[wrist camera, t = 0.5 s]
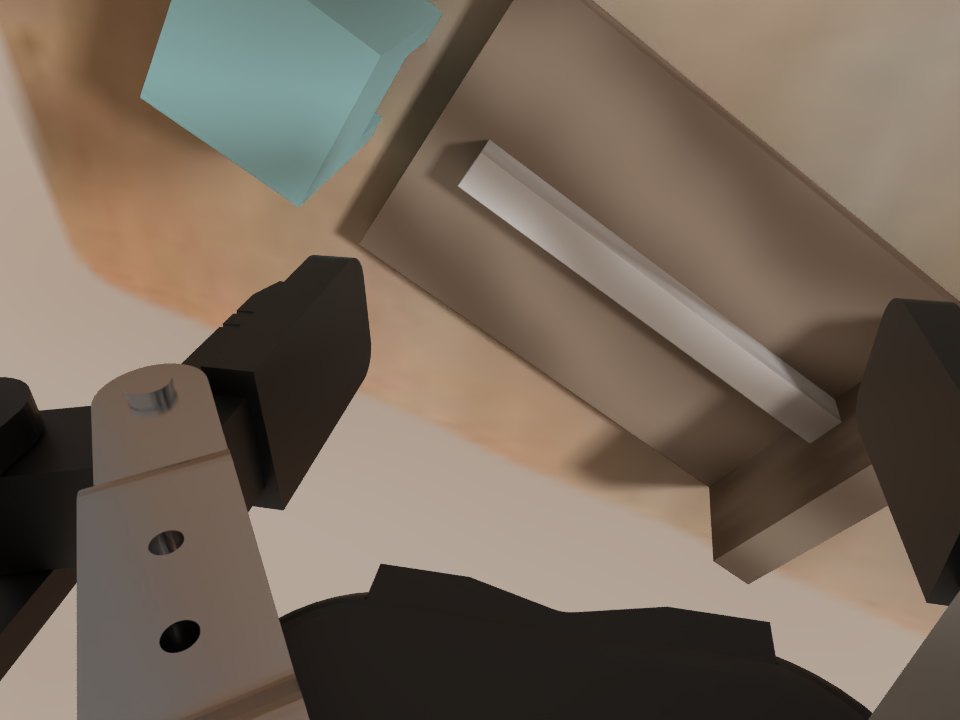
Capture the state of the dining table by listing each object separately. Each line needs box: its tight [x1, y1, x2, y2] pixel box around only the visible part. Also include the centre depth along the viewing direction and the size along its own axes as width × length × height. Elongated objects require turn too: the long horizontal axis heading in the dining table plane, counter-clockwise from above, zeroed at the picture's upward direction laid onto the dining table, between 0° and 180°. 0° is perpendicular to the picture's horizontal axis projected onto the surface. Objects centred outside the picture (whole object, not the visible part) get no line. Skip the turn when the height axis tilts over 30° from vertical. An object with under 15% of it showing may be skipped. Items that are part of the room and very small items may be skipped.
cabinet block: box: [140, 0, 443, 207], centre depth 25 cm, size 6×7×7 cm
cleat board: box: [359, 0, 960, 584], centre depth 28 cm, size 13×22×6 cm, turn 56°
